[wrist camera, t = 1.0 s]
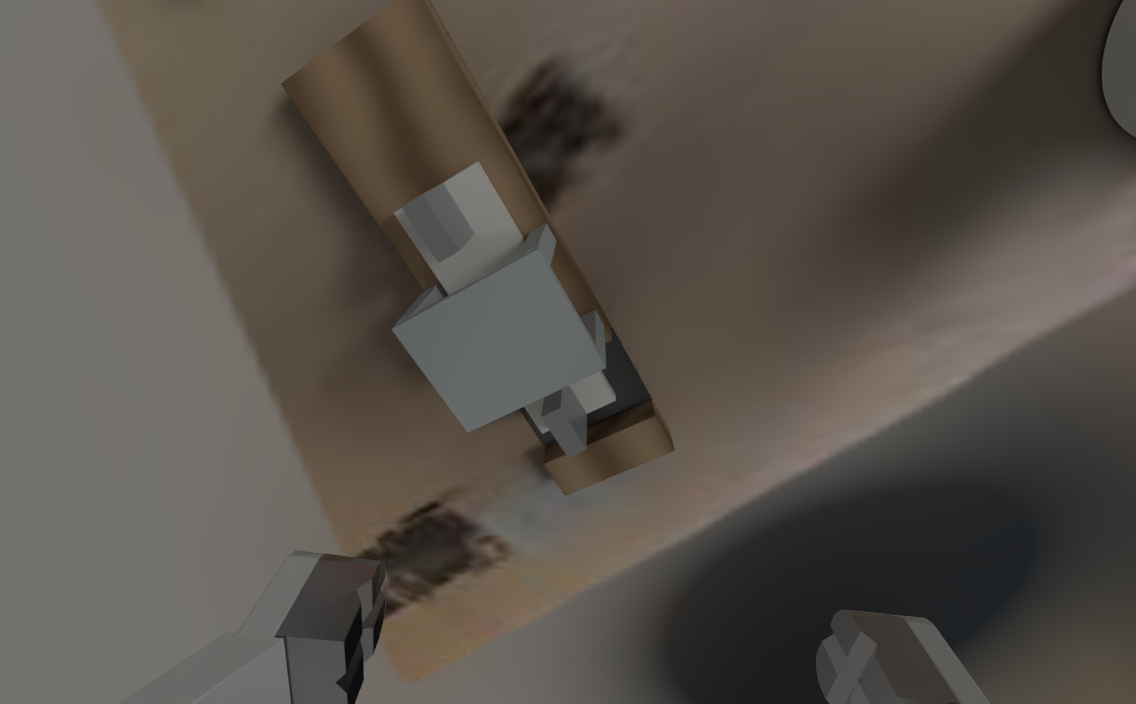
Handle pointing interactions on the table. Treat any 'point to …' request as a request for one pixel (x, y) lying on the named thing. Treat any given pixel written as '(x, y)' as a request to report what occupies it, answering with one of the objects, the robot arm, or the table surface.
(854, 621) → the robot arm
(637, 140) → the table surface
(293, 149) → the table surface
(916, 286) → the table surface
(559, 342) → the tunnel
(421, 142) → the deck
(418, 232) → the sled
